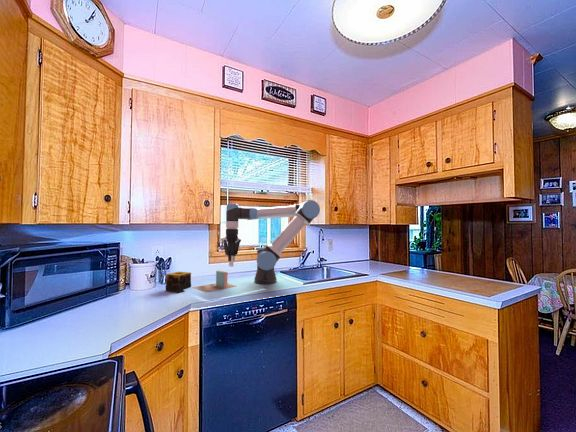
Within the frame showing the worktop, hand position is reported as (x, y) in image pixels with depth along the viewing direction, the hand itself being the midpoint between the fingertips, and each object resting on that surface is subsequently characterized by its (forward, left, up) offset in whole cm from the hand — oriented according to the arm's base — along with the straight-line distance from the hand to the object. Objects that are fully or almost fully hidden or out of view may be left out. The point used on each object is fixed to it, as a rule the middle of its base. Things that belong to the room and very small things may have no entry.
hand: (231, 266), depth 164 cm
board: (+10, -2, -13) cm, 16 cm away
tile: (+7, 0, -11) cm, 13 cm away
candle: (+27, -14, -13) cm, 33 cm away
